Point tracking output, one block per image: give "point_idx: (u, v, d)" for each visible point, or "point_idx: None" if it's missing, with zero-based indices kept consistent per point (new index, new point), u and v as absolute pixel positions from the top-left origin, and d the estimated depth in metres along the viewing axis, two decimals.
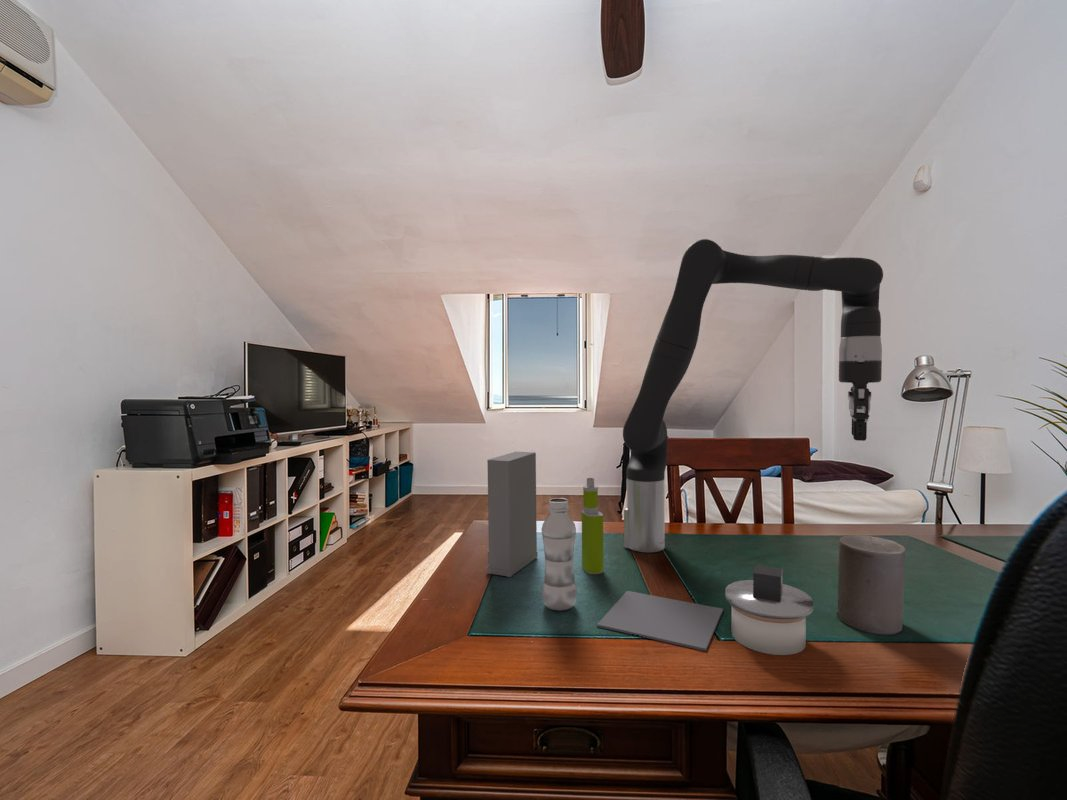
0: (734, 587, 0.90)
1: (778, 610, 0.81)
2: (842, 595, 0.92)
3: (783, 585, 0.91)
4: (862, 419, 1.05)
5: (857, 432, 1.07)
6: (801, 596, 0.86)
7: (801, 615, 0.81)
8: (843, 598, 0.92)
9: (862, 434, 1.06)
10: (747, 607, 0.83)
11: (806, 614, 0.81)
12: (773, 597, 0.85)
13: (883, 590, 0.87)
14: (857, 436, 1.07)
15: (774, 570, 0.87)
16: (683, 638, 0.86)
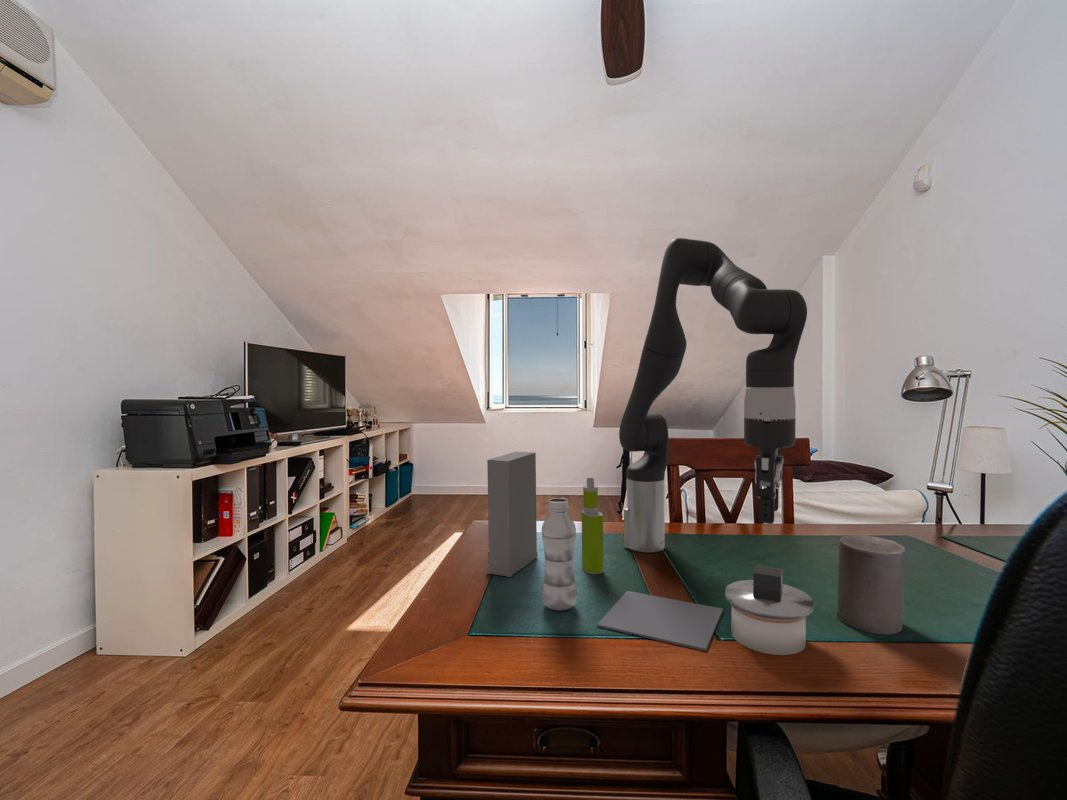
0: (734, 587, 0.90)
1: (778, 610, 0.81)
2: (842, 595, 0.92)
3: (783, 585, 0.91)
4: (767, 497, 0.81)
5: (762, 513, 0.82)
6: (801, 596, 0.86)
7: (801, 615, 0.81)
8: (843, 598, 0.92)
9: (768, 516, 0.82)
10: (747, 607, 0.83)
11: (806, 614, 0.81)
12: (773, 597, 0.85)
13: (883, 590, 0.87)
14: (762, 518, 0.82)
15: (774, 570, 0.87)
16: (683, 638, 0.86)
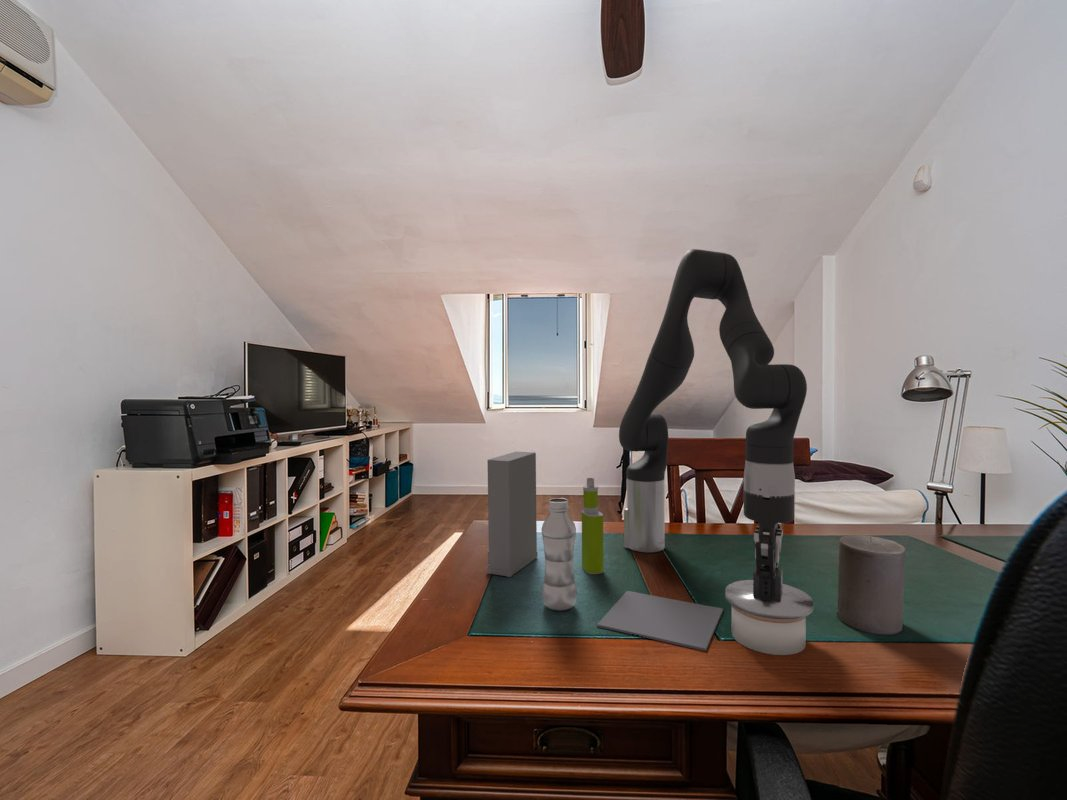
0: (734, 587, 0.90)
1: (778, 610, 0.81)
2: (842, 595, 0.92)
3: (783, 585, 0.91)
4: (767, 577, 0.83)
5: (762, 590, 0.84)
6: (801, 596, 0.86)
7: (801, 615, 0.81)
8: (843, 598, 0.92)
9: (768, 594, 0.84)
10: (747, 607, 0.83)
11: (806, 614, 0.81)
12: None
13: (883, 590, 0.87)
14: (762, 595, 0.84)
15: None
16: (683, 638, 0.86)
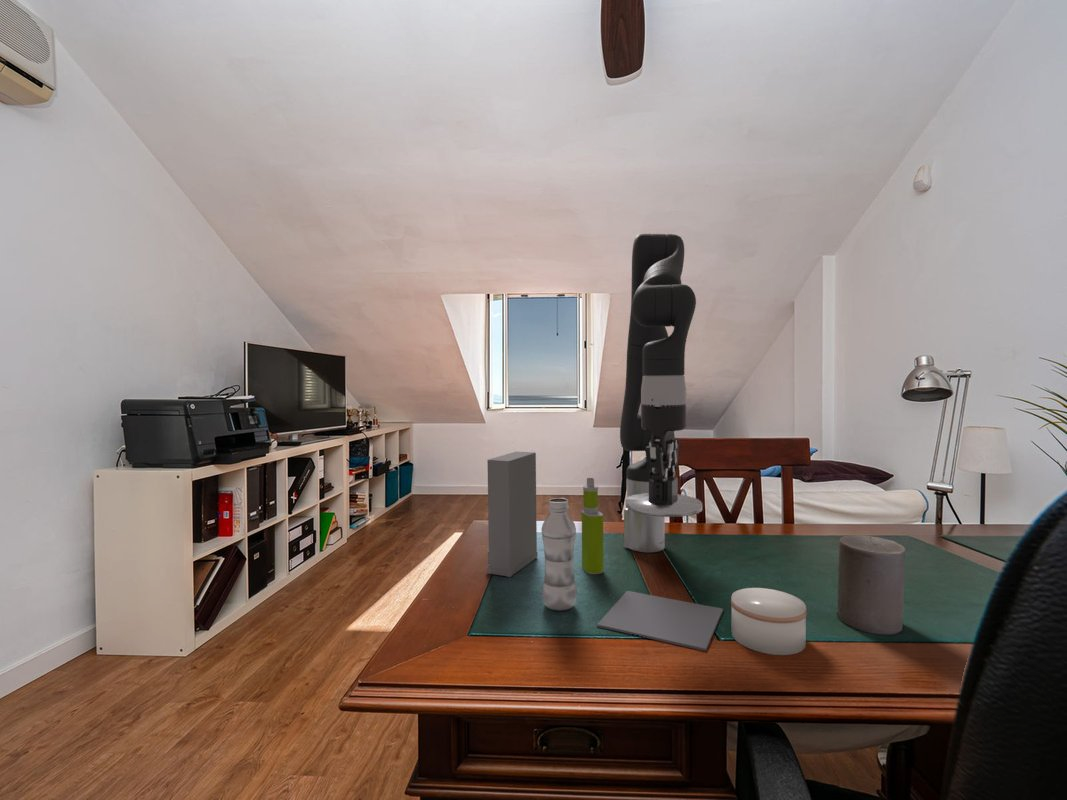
0: (635, 497, 0.97)
1: (666, 509, 0.88)
2: (842, 595, 0.92)
3: (681, 495, 0.97)
4: (658, 480, 0.89)
5: (655, 494, 0.91)
6: (693, 501, 0.93)
7: (687, 513, 0.88)
8: (843, 598, 0.92)
9: (660, 497, 0.90)
10: (639, 508, 0.89)
11: (692, 513, 0.88)
12: None
13: (883, 590, 0.87)
14: (655, 499, 0.91)
15: (669, 478, 0.93)
16: (683, 638, 0.86)
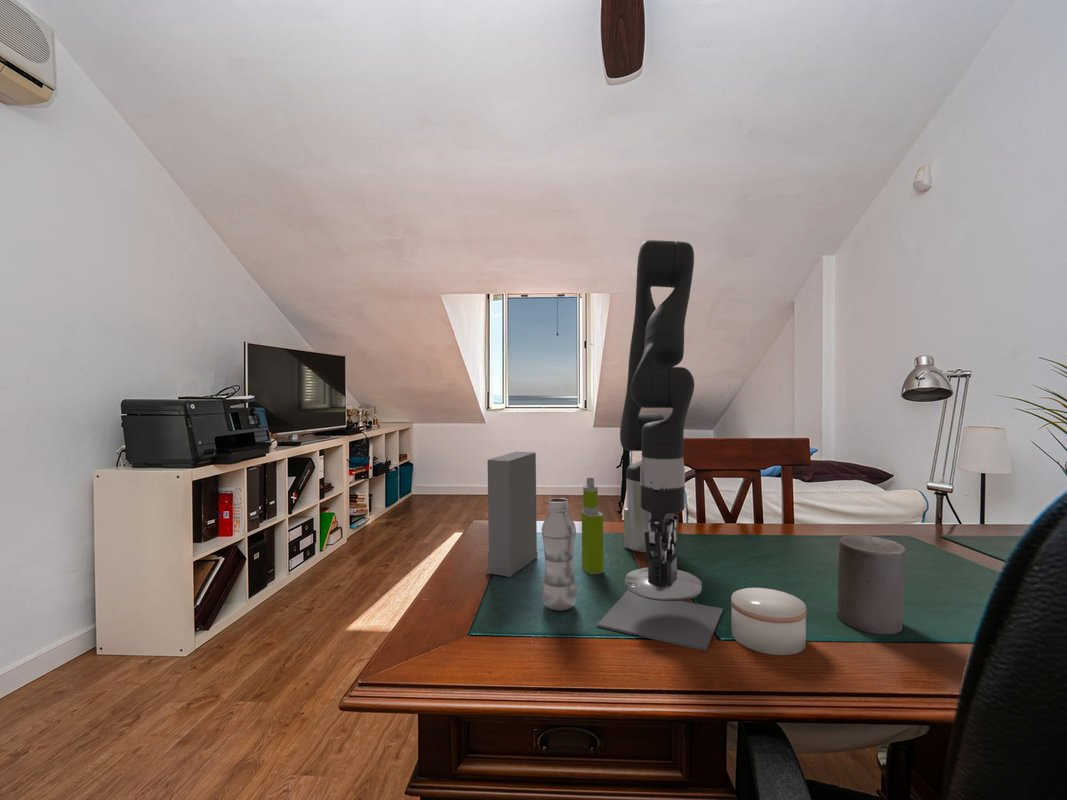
0: (634, 574, 0.97)
1: (665, 592, 0.89)
2: (842, 595, 0.92)
3: (681, 572, 0.98)
4: (657, 562, 0.90)
5: (654, 576, 0.91)
6: (692, 581, 0.93)
7: (686, 597, 0.88)
8: (843, 598, 0.92)
9: (659, 578, 0.91)
10: (639, 590, 0.90)
11: (691, 597, 0.89)
12: None
13: (883, 590, 0.87)
14: (654, 580, 0.91)
15: (668, 557, 0.94)
16: (683, 638, 0.86)
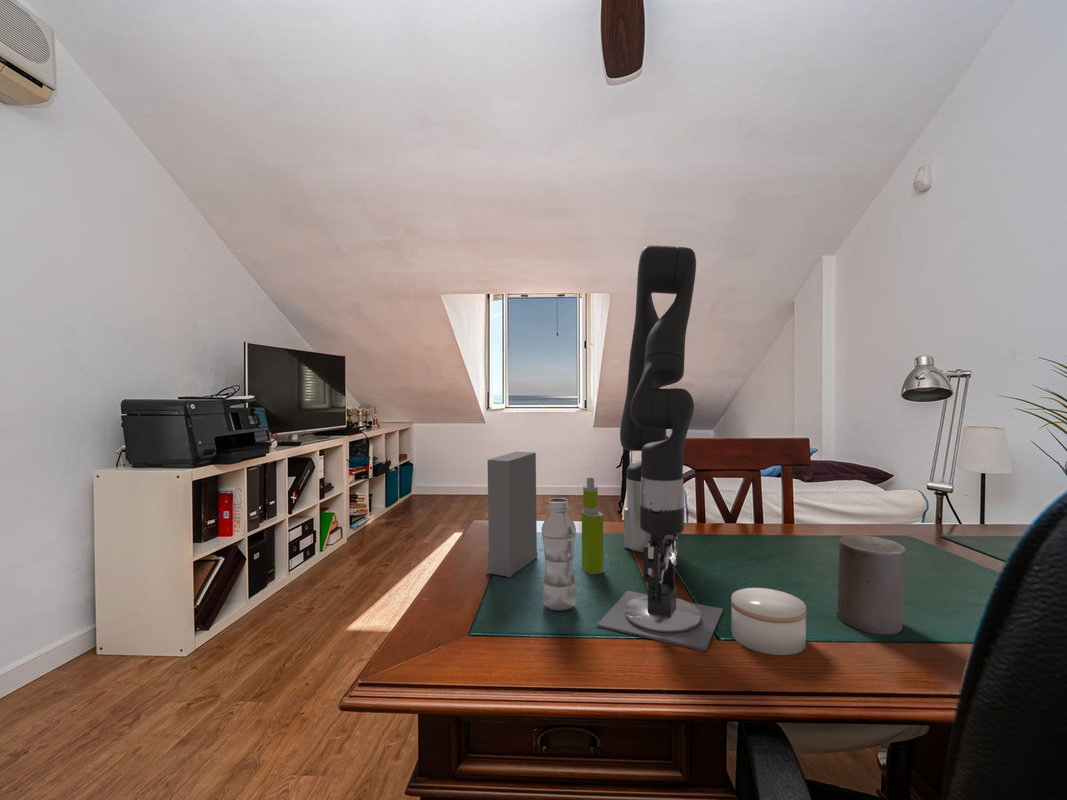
0: (634, 603, 0.97)
1: (665, 625, 0.89)
2: (842, 595, 0.92)
3: (680, 600, 0.98)
4: (653, 583, 0.88)
5: (650, 595, 0.90)
6: (692, 611, 0.94)
7: (685, 630, 0.88)
8: (843, 598, 0.92)
9: (655, 598, 0.89)
10: (638, 622, 0.90)
11: (691, 629, 0.89)
12: (664, 613, 0.92)
13: (883, 590, 0.87)
14: (651, 600, 0.90)
15: (668, 587, 0.94)
16: (683, 638, 0.86)
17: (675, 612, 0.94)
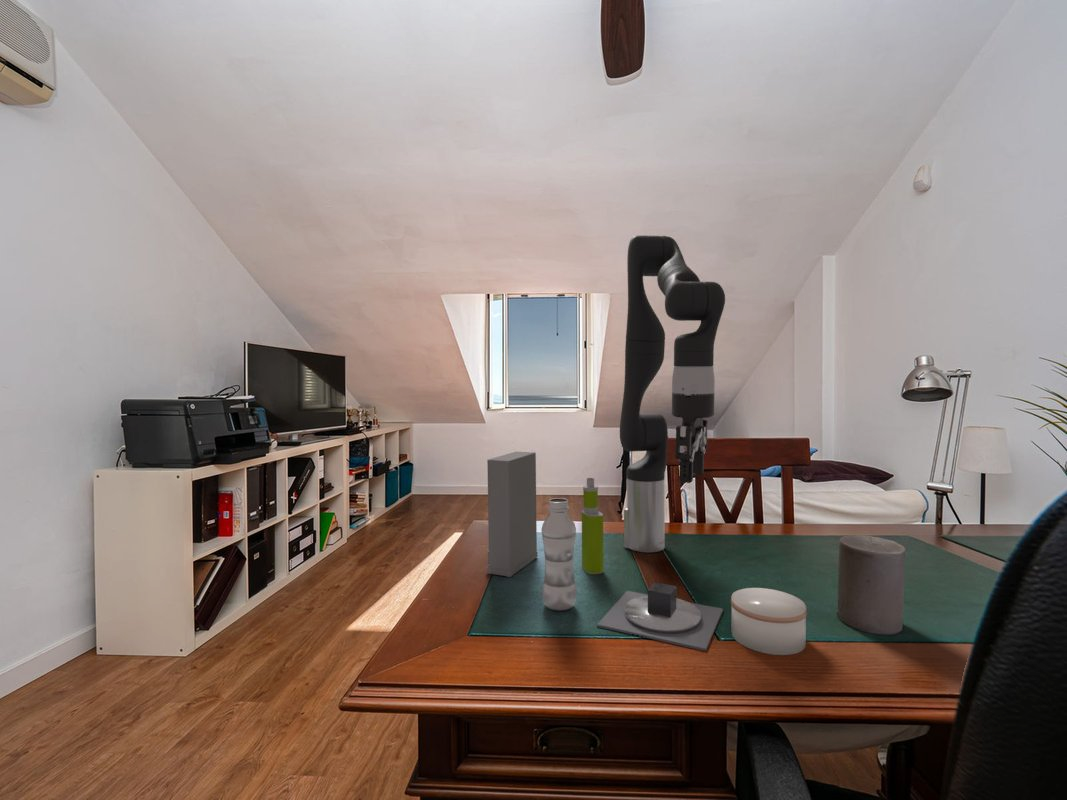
0: (634, 603, 0.98)
1: (665, 625, 0.89)
2: (842, 595, 0.92)
3: (680, 601, 0.98)
4: (685, 460, 0.95)
5: (682, 473, 0.96)
6: (692, 611, 0.94)
7: (685, 630, 0.88)
8: (843, 598, 0.92)
9: (686, 476, 0.96)
10: (638, 622, 0.90)
11: (690, 629, 0.89)
12: (664, 613, 0.92)
13: (883, 590, 0.87)
14: (682, 478, 0.96)
15: (668, 587, 0.94)
16: (683, 638, 0.86)
17: (675, 612, 0.94)
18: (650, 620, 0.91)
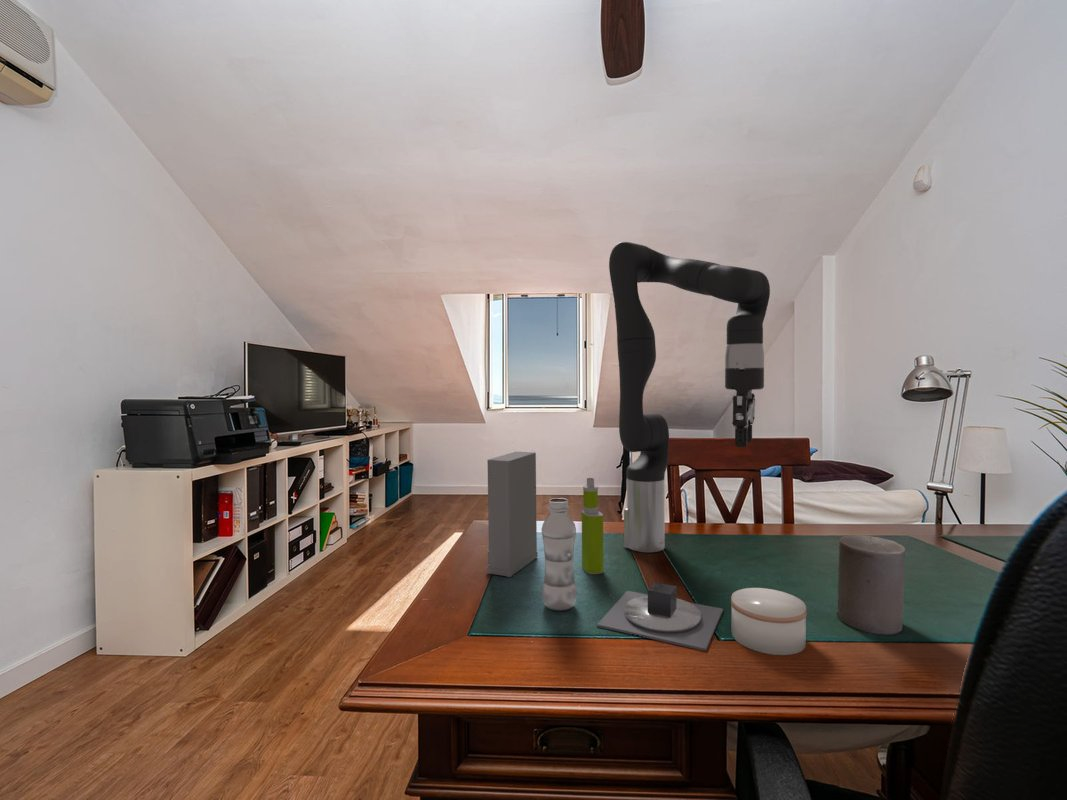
0: (634, 603, 0.98)
1: (664, 625, 0.89)
2: (842, 595, 0.92)
3: (680, 601, 0.98)
4: (741, 426, 1.06)
5: (737, 439, 1.08)
6: (692, 612, 0.94)
7: (685, 630, 0.88)
8: (843, 598, 0.92)
9: (742, 441, 1.07)
10: (638, 622, 0.90)
11: (690, 629, 0.89)
12: (664, 613, 0.92)
13: (883, 590, 0.87)
14: (738, 443, 1.08)
15: (668, 587, 0.94)
16: (683, 638, 0.86)
17: (675, 612, 0.94)
18: (650, 620, 0.91)
